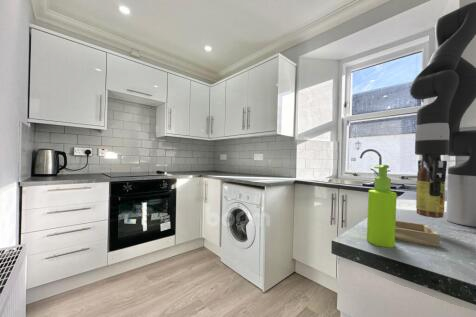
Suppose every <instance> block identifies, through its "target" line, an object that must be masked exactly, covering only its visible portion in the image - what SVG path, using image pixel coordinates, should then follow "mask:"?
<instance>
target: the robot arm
mask: <svg viewBox="0 0 476 317" xmlns="http://www.w3.org/2000/svg"><path fill="white" fill-rule="evenodd" d="M434 34H435V39H436V46H437V49H436V50H435V51H434V52H433V53H432V55H431V57H430V58H429V61H428V63H427V65H426V67H424V68H423V69H422V70H421V71H420V72H419V73H418V74H417V75H416V77H415V78H414V79H413V80H412V82H411V84H410V87H409V93H410V96H411V97H412V98H413V99H415V100H419V101H420V100H422V101H423V100H427V99H432V98H435V99H434V100H433V101H432V102H430V103H429V104H426V105H423V106H420V107H419V108H418V109H417V111H416V129H415V135H414V136H415V138H414V139H415V140H414V154H415V155H416V156H421V158H422V159H420V160H419V159H418V161H417V167H418V168H417V172H418V171H419V169H420V168H421V167H422V166H423V165H422V163H423V164H424V167H425V169H426V175H427V176H429V182H430V187H429V194H430V195H431V196H440V190H441V184H442V182H445V183H446V177H447V188H446V189H447V190H446V192H447V194H446V214H445V215H446V216H445V220H446V221H447V222H450V223H454V224H457V225H463V226H469V227H475V228H476V129H472V130H461V131H460V126H461V122H462V119H463V117H464V114H465V113H466V112H467V110H468V109H469V108H470V107H471V106H472V104H473V103H474V101H475V100H476V66H475V65H473V64H472V63H470V62H469V61H468V60H466V59H465V58H464V57H462V55H463V54H464V51H465V49H466V48H467V47H468V46H469V44H470V43H471V42H472V41H473V39H474V38H475V36H476V1H474V2H471V3H468V4H466V5H463V6H462V7H460V8H457V9H454V10H452V11H451V12H449V13H447V14H445V15H443V16H441V17H439V18H438V19H437V21H436V22H435V26H434ZM422 155H427V156H428V161H424V162H423V157H422ZM441 156H449V157H469V158H468V159H467V161H465V162H462V163H459V164H456V165H450V166H449V167H448V168H447V165H448V161H447V160H442V158H441ZM429 170H430V171H433V172H430V171H429ZM436 176H437V177H436Z"/></svg>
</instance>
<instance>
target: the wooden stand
mask: <svg viewBox="0 0 476 317" xmlns="http://www.w3.org/2000/svg"><path fill="white" fill-rule="evenodd" d="M395 240H398V241H404V242H409V243H414V244H415V243H416V244H420V245H427V246H433V247H438V248H439V247H440V234H439V233H438V232H436V231H435V230H434V229H432V228H431V227H429V226H428V225H426V224H422V223H416V222H410V221H401V220H396V223H395Z"/></svg>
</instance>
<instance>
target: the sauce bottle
mask: <svg viewBox="0 0 476 317" xmlns="http://www.w3.org/2000/svg"><path fill="white" fill-rule="evenodd" d="M422 157H423V162H424V161H428V156H427V155H421V158H422ZM422 165H423V166H422V167H421V168H420V169H419V171H418V170H417V174H416V175H417V177H416V178H417V179H416V180H417V181H416V195H415V196H416V201H415V202H416V204H415V208H416V214H417V215H419V216H422V217H427V218H432V219H443V217H444V213H445V202H446V201H445V198H446V197H445V196H446V194H445V193H446V189H445V188H446V186H445V185H446V181H445V182H442V184H441V190H440V196H431V195H430V194H429V187H430V182H429V176H427V175H426V169H425V167H424V164H423V163H422ZM429 171H430V170H429ZM430 172H433V171H430ZM436 177H437V176H436Z"/></svg>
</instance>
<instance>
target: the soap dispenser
mask: <svg viewBox="0 0 476 317" xmlns="http://www.w3.org/2000/svg"><path fill="white" fill-rule="evenodd" d="M373 167H374V168H373V169H378V176H376V177H374V189H369V190H368V193H367V194H368V195H367V196H368V198H367V199H368V200H367V220H366V221H367V222H366V224H367V225H366V241H367V242H368V243H370V244H371V245H375V246H377V247H381V248H394V247H395V245H396V244H395V242H396V239H395V223H396V221H397V220H396V219H397V218H396V216H397V195H398V194H397V193H396V192H394V191H391V186H392V184H391V182H392V179H391V178H390V177H388V169H389V168H390V166H389V164H376V165H374V166H373Z"/></svg>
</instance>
